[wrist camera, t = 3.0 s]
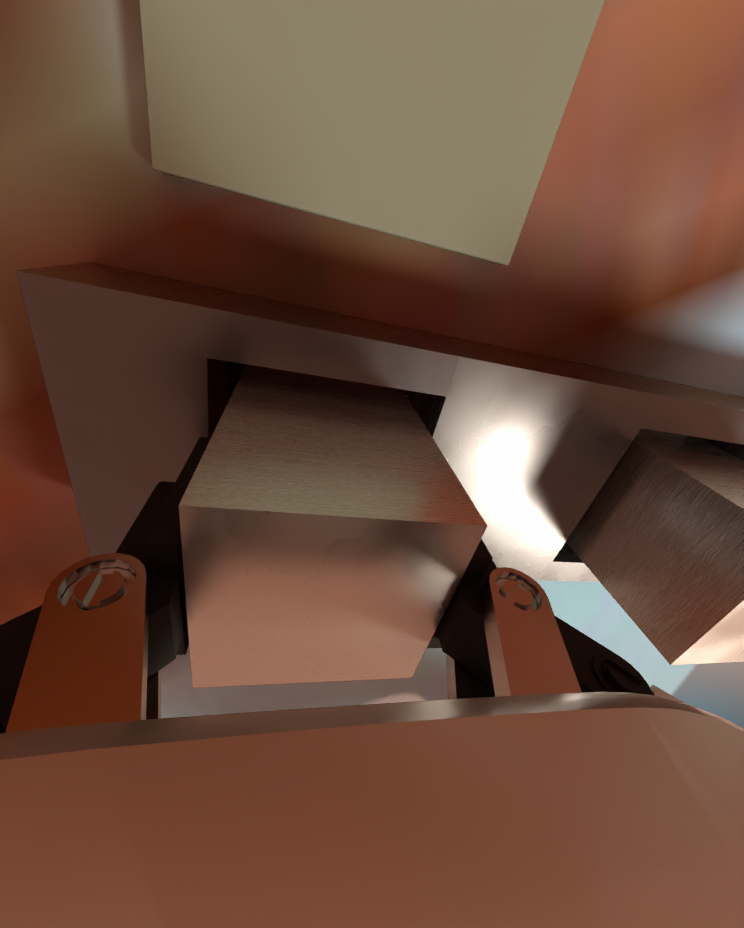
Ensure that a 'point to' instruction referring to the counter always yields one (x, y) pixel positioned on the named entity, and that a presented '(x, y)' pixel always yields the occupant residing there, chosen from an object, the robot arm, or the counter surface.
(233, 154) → the mat
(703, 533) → the brown wooden block
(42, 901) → the robot arm
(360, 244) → the counter surface
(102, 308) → the board with square holes
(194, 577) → the pale pink rectangular block
